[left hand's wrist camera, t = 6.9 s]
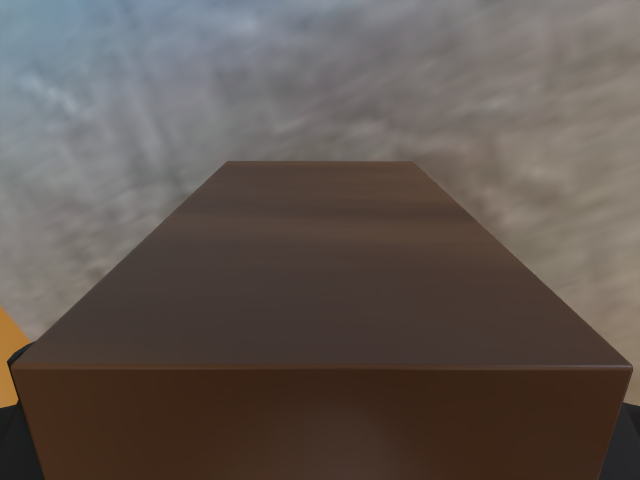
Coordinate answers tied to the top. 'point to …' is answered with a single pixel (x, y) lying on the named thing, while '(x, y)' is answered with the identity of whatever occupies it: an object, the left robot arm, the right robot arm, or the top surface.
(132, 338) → the box
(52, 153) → the top surface
